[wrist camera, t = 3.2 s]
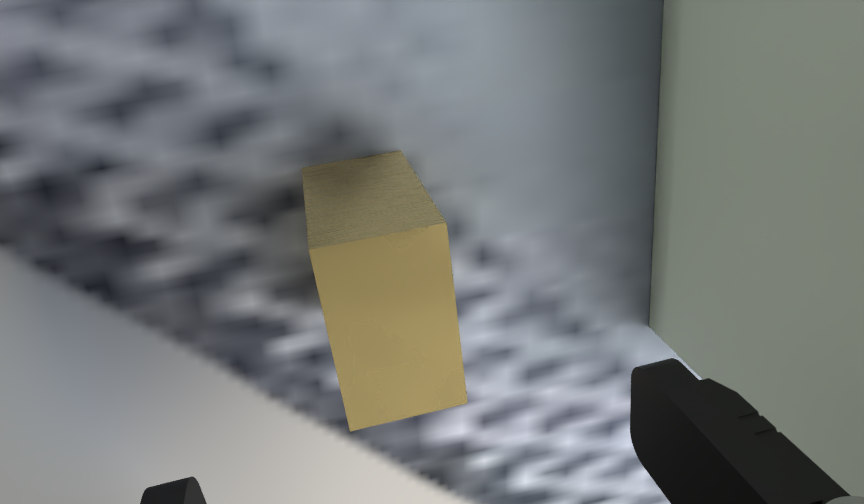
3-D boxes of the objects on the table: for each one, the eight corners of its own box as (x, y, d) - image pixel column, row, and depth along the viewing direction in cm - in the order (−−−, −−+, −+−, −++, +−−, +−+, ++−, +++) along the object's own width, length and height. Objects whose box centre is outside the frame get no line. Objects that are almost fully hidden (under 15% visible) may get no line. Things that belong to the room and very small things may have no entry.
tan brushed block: (301, 167, 18) (308, 250, 13) (400, 150, 19) (446, 223, 13) (333, 310, 20) (349, 431, 15) (421, 292, 21) (467, 403, 16)
